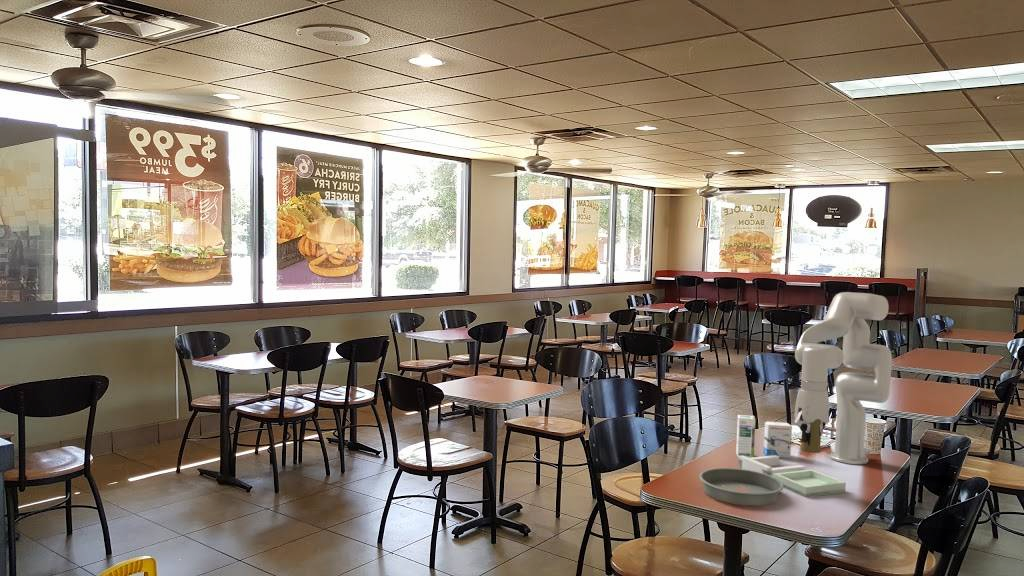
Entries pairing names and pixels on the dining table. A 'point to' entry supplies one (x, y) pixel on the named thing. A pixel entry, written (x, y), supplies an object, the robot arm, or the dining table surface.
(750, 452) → the syrup box
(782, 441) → the ink box
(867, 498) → the dining table surface
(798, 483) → the tray
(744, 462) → the dock
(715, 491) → the cake pan
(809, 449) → the cork
